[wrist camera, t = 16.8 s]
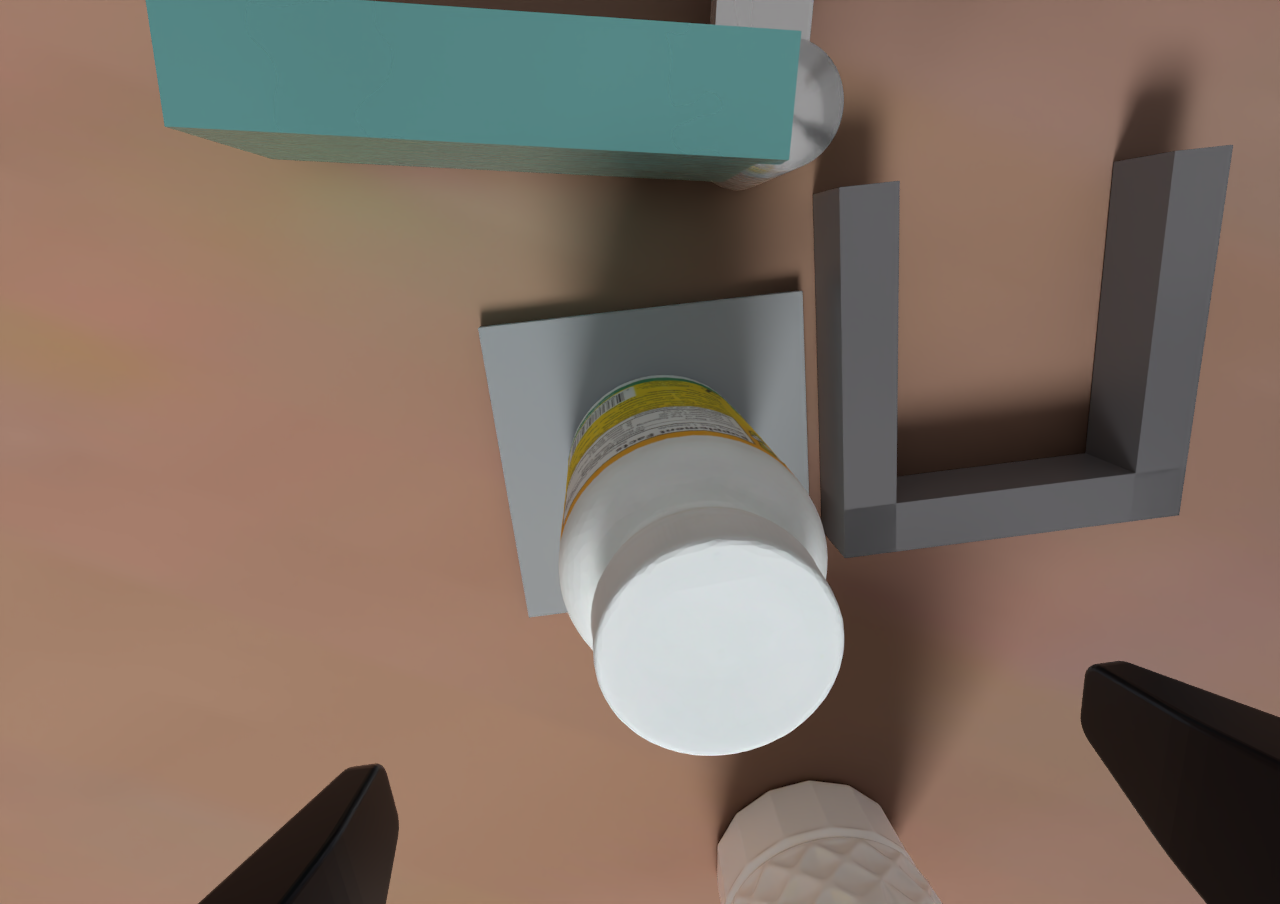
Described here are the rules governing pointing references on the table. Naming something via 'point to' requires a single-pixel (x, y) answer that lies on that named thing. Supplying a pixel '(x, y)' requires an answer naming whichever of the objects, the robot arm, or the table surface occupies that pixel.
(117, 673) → the table surface
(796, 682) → the supplement bottle
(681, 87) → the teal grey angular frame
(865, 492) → the socket block
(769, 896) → the white cup
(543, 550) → the mat
